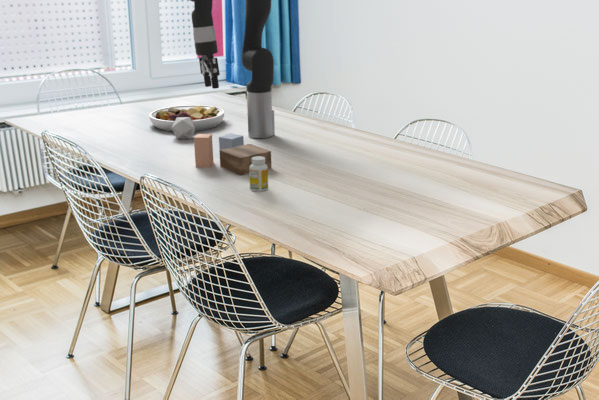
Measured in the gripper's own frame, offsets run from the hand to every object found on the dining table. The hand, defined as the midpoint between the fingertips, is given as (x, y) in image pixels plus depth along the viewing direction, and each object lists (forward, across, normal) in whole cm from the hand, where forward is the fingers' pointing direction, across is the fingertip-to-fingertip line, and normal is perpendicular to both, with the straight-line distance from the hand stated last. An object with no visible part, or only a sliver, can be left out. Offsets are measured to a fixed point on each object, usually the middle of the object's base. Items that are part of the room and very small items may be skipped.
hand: (212, 87), depth 249 cm
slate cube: (+23, -8, -2) cm, 24 cm away
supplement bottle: (+26, -49, +5) cm, 55 cm away
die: (+20, +20, +8) cm, 29 cm away
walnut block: (+24, -26, 0) cm, 36 cm away
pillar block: (+23, -18, +12) cm, 31 cm away
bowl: (+19, +41, 0) cm, 45 cm away
